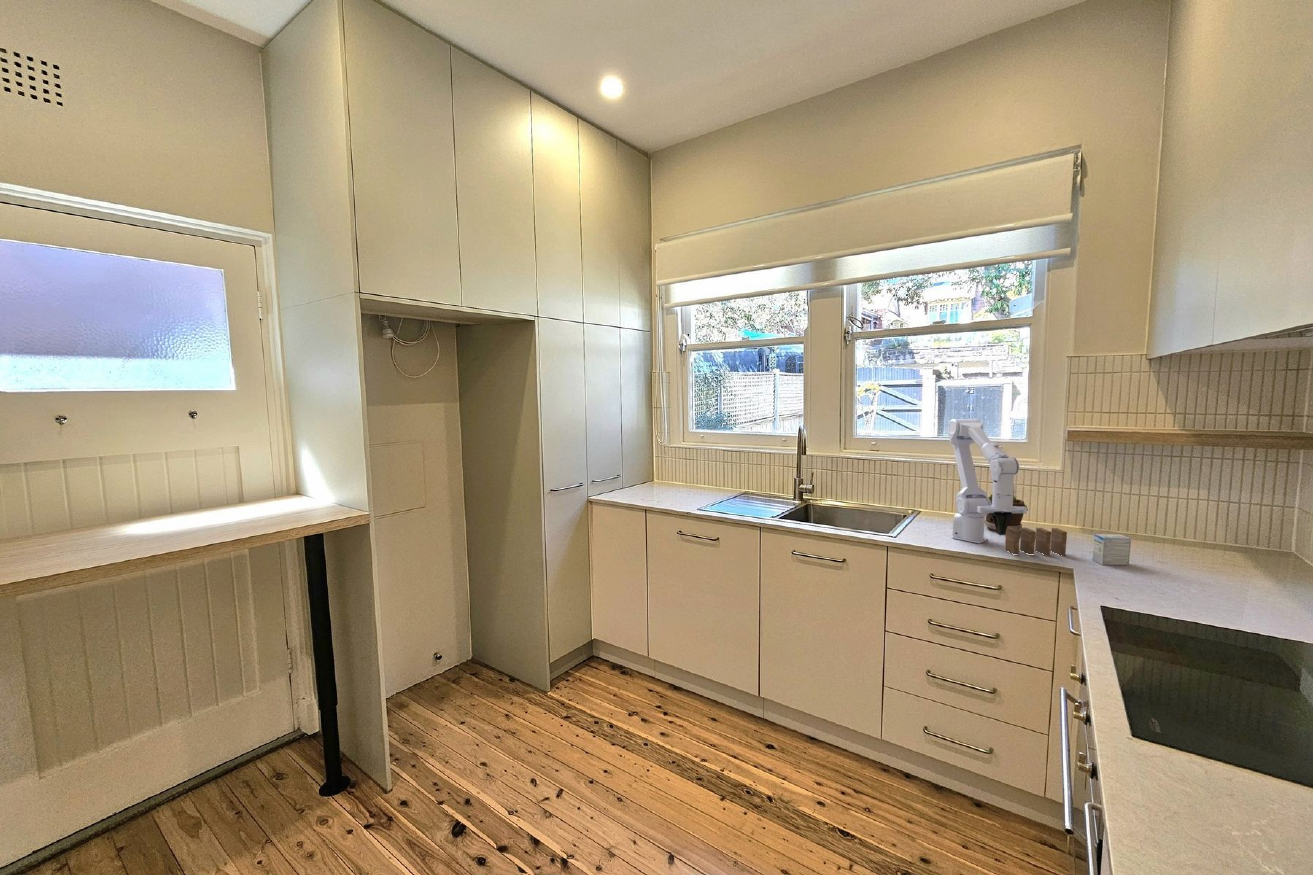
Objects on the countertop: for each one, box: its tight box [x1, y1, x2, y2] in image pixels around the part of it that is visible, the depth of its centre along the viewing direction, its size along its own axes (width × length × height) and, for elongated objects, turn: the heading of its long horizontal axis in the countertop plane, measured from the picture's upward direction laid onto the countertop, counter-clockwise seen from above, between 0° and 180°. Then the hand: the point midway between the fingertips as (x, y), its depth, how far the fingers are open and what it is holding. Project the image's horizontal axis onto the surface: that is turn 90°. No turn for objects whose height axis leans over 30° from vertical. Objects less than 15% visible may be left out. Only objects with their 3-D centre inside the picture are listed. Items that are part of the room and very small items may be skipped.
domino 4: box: [1050, 527, 1068, 557], centre depth 175 cm, size 2×5×8 cm, turn 175°
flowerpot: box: [984, 484, 1029, 534], centre depth 203 cm, size 14×15×20 cm
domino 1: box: [1004, 527, 1021, 555], centre depth 177 cm, size 2×5×8 cm, turn 175°
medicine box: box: [1092, 533, 1132, 566], centre depth 166 cm, size 8×4×9 cm, turn 84°
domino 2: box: [1019, 527, 1036, 555], centre depth 176 cm, size 2×5×8 cm, turn 175°
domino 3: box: [1034, 527, 1051, 556], centre depth 176 cm, size 2×5×8 cm, turn 175°
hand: (1000, 534), depth 177 cm, fingers closed
